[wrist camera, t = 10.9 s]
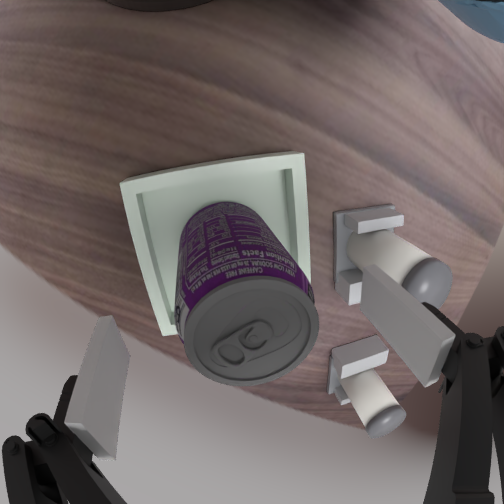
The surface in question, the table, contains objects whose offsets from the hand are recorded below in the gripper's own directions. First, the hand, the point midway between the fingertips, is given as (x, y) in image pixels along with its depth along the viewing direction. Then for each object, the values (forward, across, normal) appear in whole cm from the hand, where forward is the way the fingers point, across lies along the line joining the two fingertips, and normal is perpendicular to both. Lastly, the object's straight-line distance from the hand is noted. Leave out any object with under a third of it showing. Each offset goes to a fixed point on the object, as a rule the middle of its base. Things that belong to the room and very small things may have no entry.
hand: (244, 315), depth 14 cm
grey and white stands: (+11, +13, -11) cm, 20 cm away
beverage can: (+10, 0, 0) cm, 10 cm away
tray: (+11, 0, 0) cm, 11 cm away
